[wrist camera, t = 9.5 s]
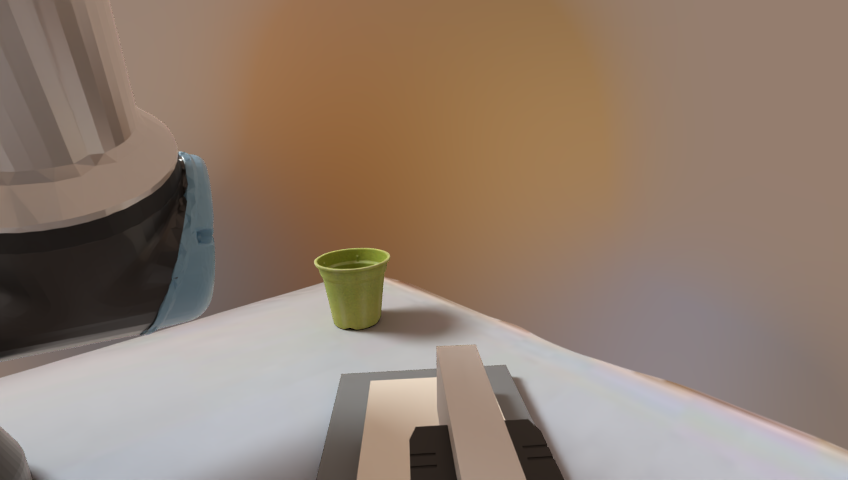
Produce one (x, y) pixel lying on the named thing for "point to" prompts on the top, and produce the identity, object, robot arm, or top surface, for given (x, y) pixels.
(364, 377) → the board
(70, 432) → the top surface
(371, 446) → the tile
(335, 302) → the plant pot
